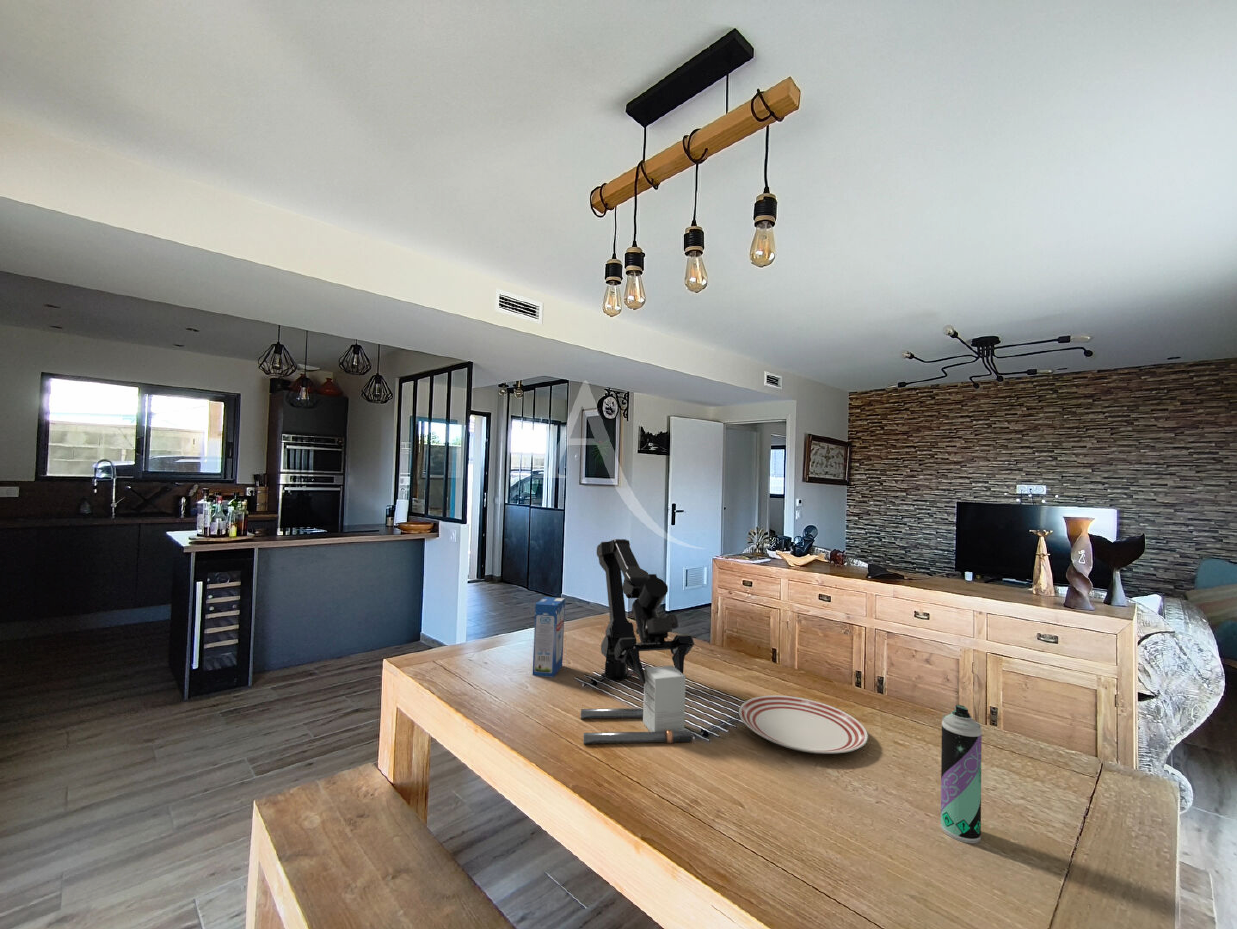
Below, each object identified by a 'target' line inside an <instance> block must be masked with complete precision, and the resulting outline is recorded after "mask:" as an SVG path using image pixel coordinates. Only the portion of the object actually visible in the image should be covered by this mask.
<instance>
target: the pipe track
mask: <svg viewBox="0 0 1237 929" xmlns="http://www.w3.org/2000/svg"><path fill="white" fill-rule="evenodd" d="M580 719H582V720H583V719H584V720H585V719H643V707H641V708H640V707H639V708H636V707H635V708H581V709H580ZM692 741H693V734H692V731H691V730H684V731H672V730H666V731H665V732H650V731H625V732H624V731H623V732H621V731H617V732H611V731H610V732H609V731H607V732H583V744H586V745H587V744H627V743H628V744H634V743H666V744H673V743H678V742H679V743H681V742H683V743H684V742H687V743H688V742H692Z"/></svg>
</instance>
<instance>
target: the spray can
mask: <svg viewBox="0 0 1237 929" xmlns="http://www.w3.org/2000/svg"><path fill="white" fill-rule="evenodd" d="M954 709H955V710H953V711H951V713H950V714H946V715H943V716H942V721H941V748H940V749H941V751H940V752H941V757H940V758H941V760H940V763H941V764H940V766H941V768H940V772H941V773H940V776H941V777H940V828H941V830H942V831H943V832H944V834H946V835H947V836H949V837H950V838H952V839H953V840H956V841H959V842H962V843H966V844H977V843H980V841H981V839H982V729H981V728H982V726H981V724H980V723H979V722H977V721H975V719H974V718H972V715H971V714H970V713H969V710H968V708H967V707H966V706H964V705H961V704H955V708H954Z"/></svg>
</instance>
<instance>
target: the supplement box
mask: <svg viewBox="0 0 1237 929" xmlns="http://www.w3.org/2000/svg"><path fill="white" fill-rule="evenodd" d="M643 668H644V669H643V671H644V675H645V681H646V682H645V684H643V707H642V708H643V718H642V723H643V724H644V725H645V727H646V728H647V730H648V732H665V731H666V730H672V731H685V716H686V715H685V712H686V710H685V707H686V678H687V677H686V675H685V674H684V673H683V674H682V673H681V672H680V671H679V670H677V669H676V668H675V666H674V665H665V666H664V665H662V666H661V665H660V666H651V667H650V666H649V667H643Z"/></svg>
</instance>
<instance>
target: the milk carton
mask: <svg viewBox="0 0 1237 929" xmlns="http://www.w3.org/2000/svg"><path fill="white" fill-rule="evenodd" d="M565 609H566V597H551V596H544V597H543V598H542V599H540V600H539V601H537V602H536V603H535V609H534V610H535V611H534V629H533V630H534V633H533V634H534V635H533V651H532V652H533V654H532V655H533V656H532V658H533V659H532V676H539V677H550V678H555V676H556V675H557V674H558V672H559V671H560V669H561V668H562V667H563V660H564V658H563V657H564V634H565V630H564V629H565V614H566V613H565V612H566V610H565ZM561 666H562V667H561ZM556 673H557V674H556Z"/></svg>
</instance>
